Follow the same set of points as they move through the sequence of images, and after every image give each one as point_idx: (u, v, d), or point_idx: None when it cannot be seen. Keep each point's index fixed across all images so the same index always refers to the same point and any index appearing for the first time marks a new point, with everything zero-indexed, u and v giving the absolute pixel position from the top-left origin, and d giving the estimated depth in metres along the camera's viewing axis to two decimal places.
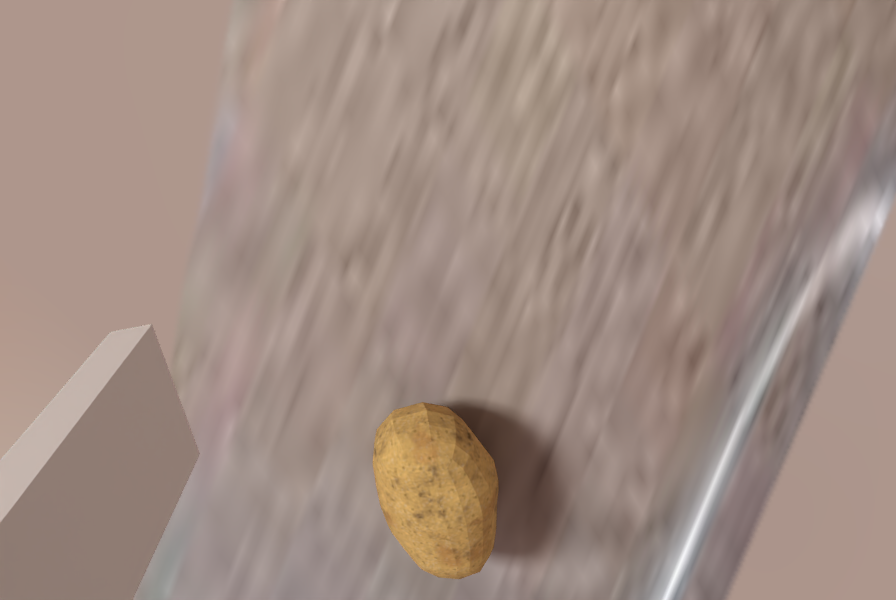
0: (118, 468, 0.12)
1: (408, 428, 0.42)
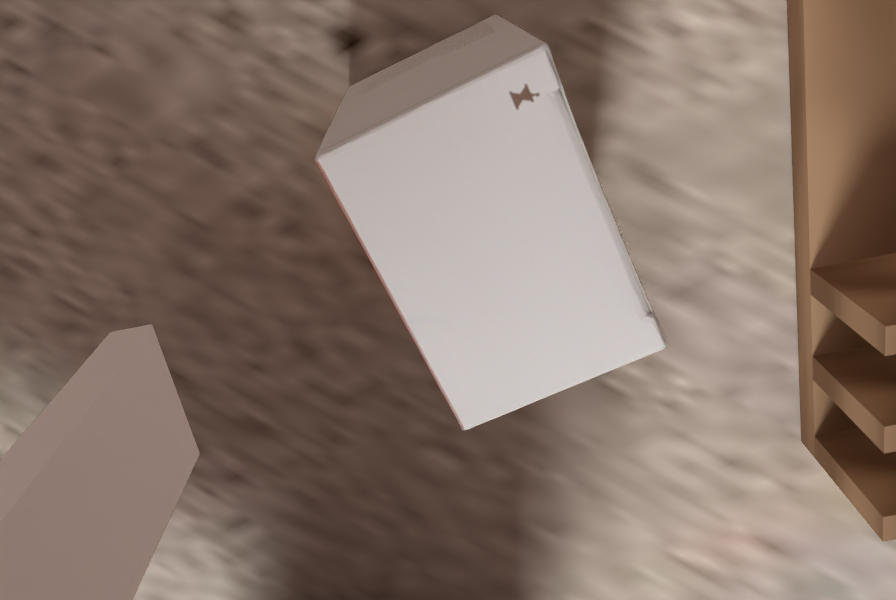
0: (118, 468, 0.12)
1: None
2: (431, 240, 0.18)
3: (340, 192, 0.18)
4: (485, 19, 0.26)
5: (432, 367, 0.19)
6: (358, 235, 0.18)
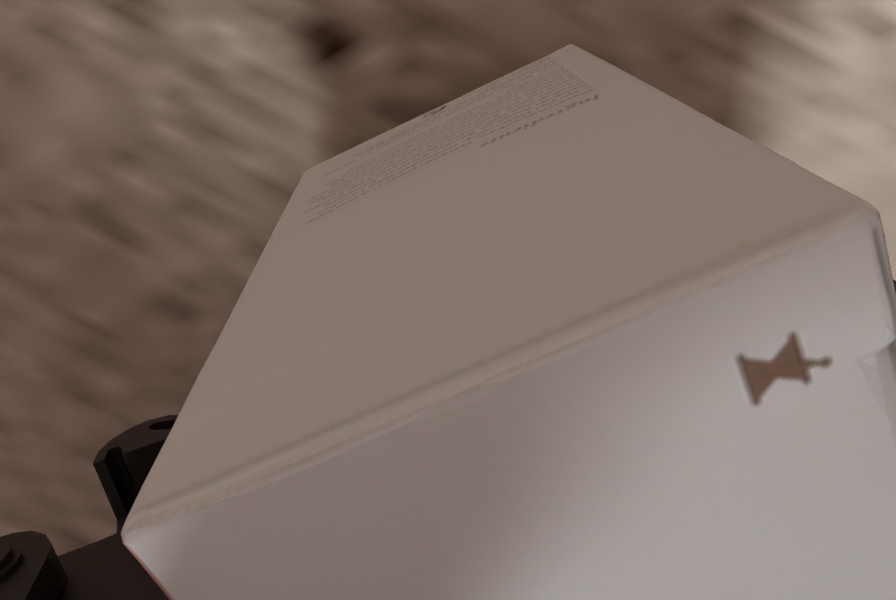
0: None
1: None
2: None
3: None
4: (554, 53, 0.14)
5: None
6: None
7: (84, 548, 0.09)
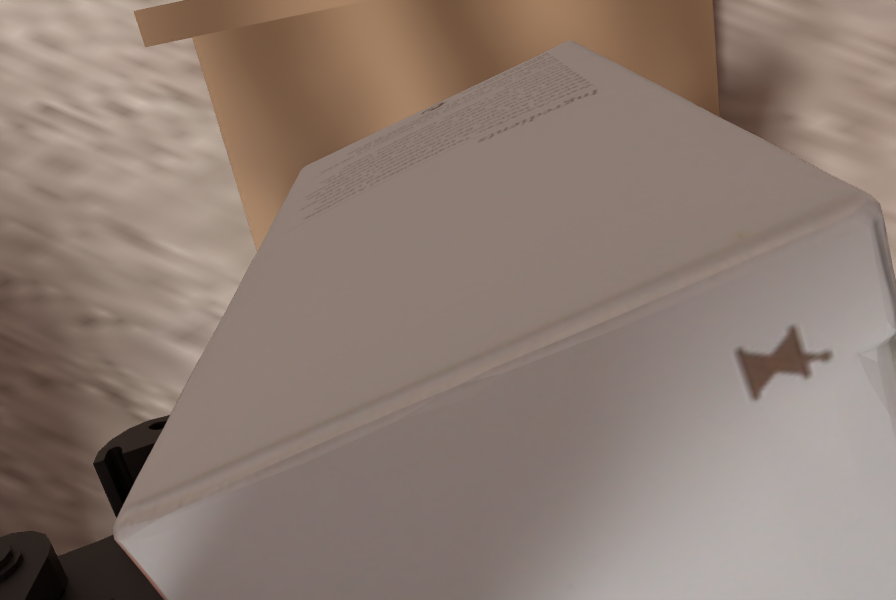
0: None
1: None
2: None
3: None
4: (552, 50, 0.14)
5: None
6: None
7: (84, 548, 0.09)
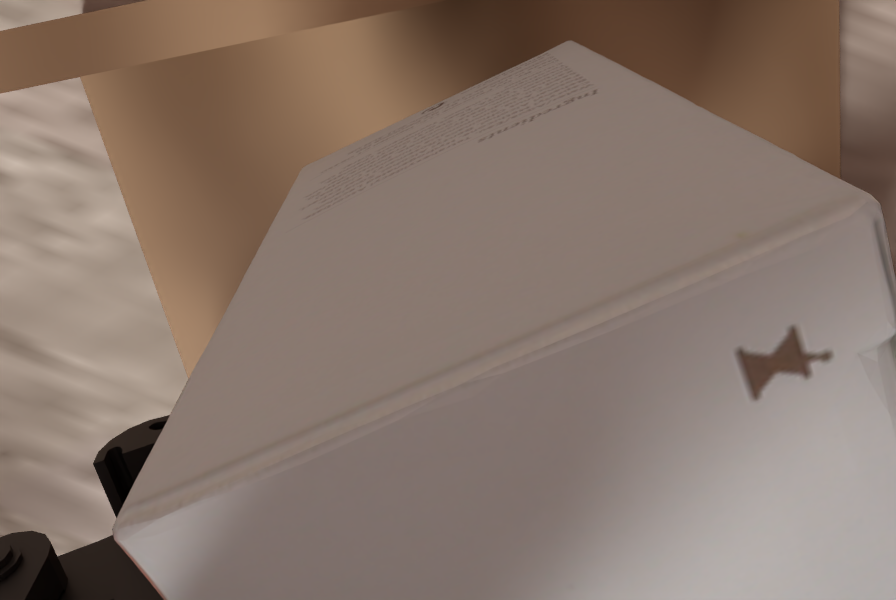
0: None
1: None
2: None
3: None
4: (552, 49, 0.14)
5: None
6: None
7: (84, 548, 0.09)
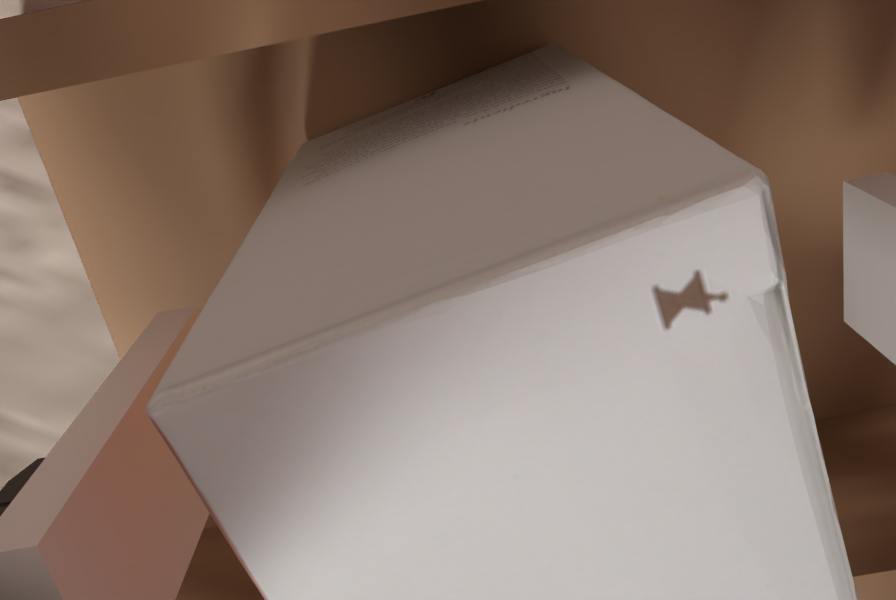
0: None
1: None
2: (424, 597, 0.08)
3: (209, 488, 0.07)
4: (537, 50, 0.15)
5: None
6: (252, 575, 0.08)
7: None
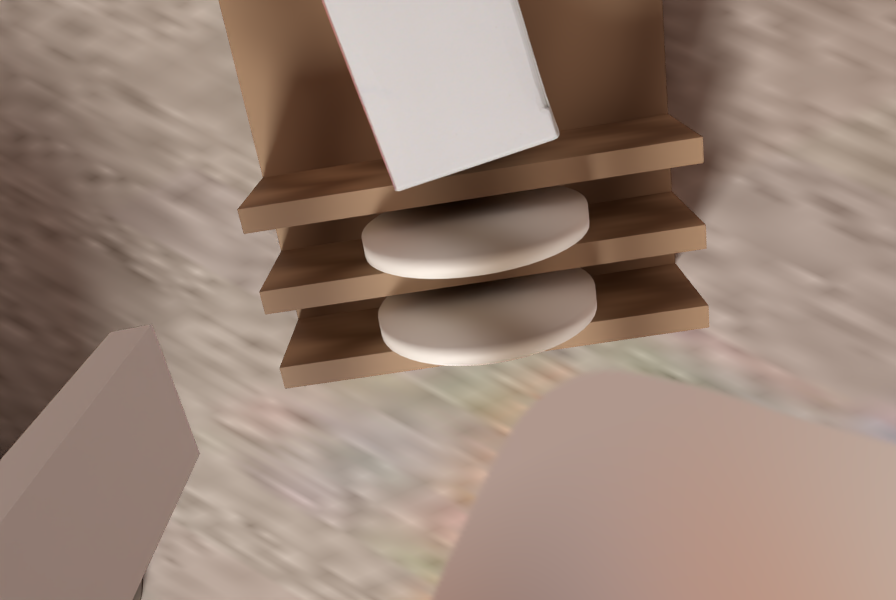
0: (118, 468, 0.12)
1: None
2: (383, 22, 0.23)
3: None
4: None
5: (375, 132, 0.25)
6: (328, 12, 0.23)
7: None
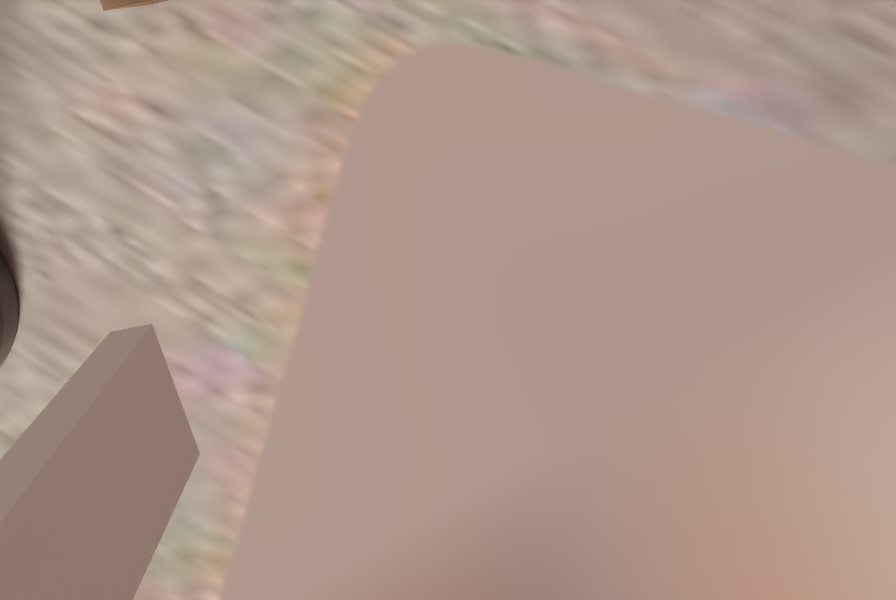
0: (118, 468, 0.12)
1: None
2: None
3: None
4: None
5: None
6: None
7: None
